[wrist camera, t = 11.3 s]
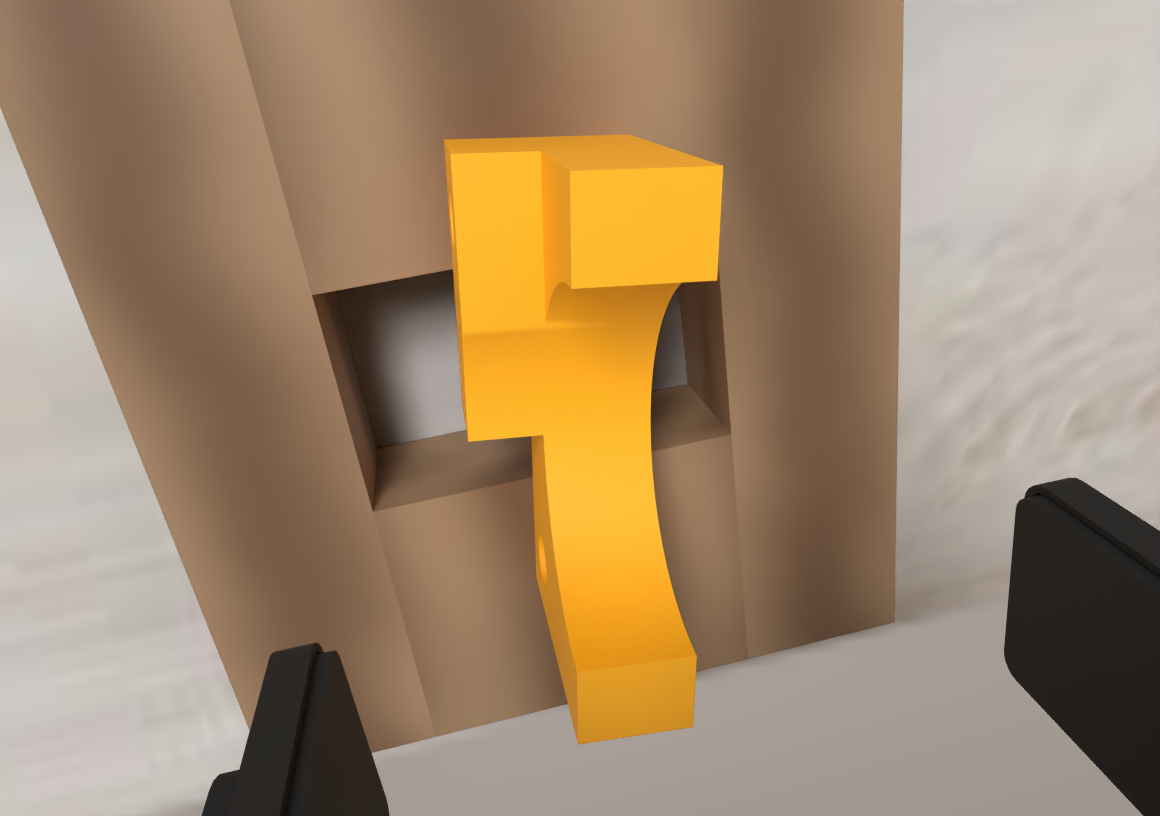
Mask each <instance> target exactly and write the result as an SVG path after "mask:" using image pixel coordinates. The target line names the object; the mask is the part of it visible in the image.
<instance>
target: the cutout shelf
mask: <svg viewBox="0 0 1160 816" xmlns="http://www.w3.org/2000/svg"><path fill="white" fill-rule="evenodd" d="M903 9H904V0H0V108H1V110H2V113H3V115H4V118H5V120H6V123H7V125H8V128H9V130H10V133H11V135H12V138H13V140H14V143H15V145H16V148H17V150H18V153H19V155H20V158H21V160H22V163H23V165H24V168H25V170H26V173H27V175H28V178H29V180H30V183H31V185H32V188H33V190H34V193H35V195H36V198H37V200H38V203H39V205H40V208H41V210H42V213H43V215H44V218H45V220H46V223H47V225H48V228H49V230H50V233H51V235H52V238H53V240H54V243H55V245H56V248H57V250H58V253H59V255H60V258H61V260H62V263H63V265H64V268H65V270H66V273H67V275H68V278H69V280H70V283H71V285H72V288H73V290H74V293H75V295H76V298H77V300H78V303H79V305H80V308H81V310H82V313H83V315H84V318H85V320H86V323H87V325H88V328H89V330H90V333H91V335H92V338H93V340H94V343H95V345H96V348H97V350H98V353H99V355H100V358H101V360H102V363H103V365H104V368H105V370H106V373H107V375H108V378H109V380H110V383H111V385H112V388H113V390H114V393H115V395H116V398H117V400H118V403H119V405H120V408H121V410H122V413H123V415H124V418H125V420H126V423H127V425H128V428H129V430H130V433H131V435H132V438H133V440H134V443H135V445H136V448H137V450H138V453H139V455H140V458H141V460H142V463H143V465H144V468H145V470H146V473H147V475H148V478H149V480H150V483H151V485H152V488H153V490H154V493H155V495H156V498H157V500H158V503H159V505H160V508H161V510H162V513H163V515H164V518H165V520H166V523H167V525H168V528H169V530H170V533H171V535H172V538H173V540H174V543H175V545H176V548H177V550H178V553H179V555H180V558H181V560H182V563H183V565H184V568H185V570H186V573H187V575H188V578H189V580H190V583H191V585H192V588H193V590H194V593H195V595H196V598H197V600H198V603H199V605H200V608H201V610H202V613H203V615H204V618H205V620H206V623H207V625H208V628H209V630H210V633H211V635H212V638H213V640H214V643H215V645H216V648H217V650H218V653H219V655H220V658H221V660H222V663H223V665H224V668H225V670H226V673H227V675H228V678H229V680H230V683H231V685H232V688H233V690H234V693H235V695H236V698H237V700H238V703H239V705H240V708H241V710H242V713H243V715H244V718H245V720H246V723H247V725H248V728H249V730H250V728H251V725H252V721H253V717H254V713H255V709H256V706H257V702H258V698H259V694H260V691H261V687H262V683H263V679H264V676H265V672H266V668H267V664H268V660H269V658H270V655H271V654H272V653H273V652H275V651H279V650H284V649H289V648H293V647H298V646H302V645H307V644H311V643H319V644H320V646H321V647H322V649H323V651H324V652H329V651H333V650H335V651H337V652H338V654H339V656H340V659H341V662H342V665H343V668H344V671H345V674H346V677H347V680H348V683H349V686H350V689H351V692H352V695H353V698H354V701H355V704H356V708H357V711H358V714H359V717H360V720H361V723H362V726H363V729H364V732H365V735H366V738H367V741H368V744H369V747H370V750H371V753H373V752H377V751H381V750H385V749H389V748H393V747H397V746H401V745H405V744H409V743H413V742H417V741H421V740H425V739H429V738H433V737H437V736H441V735H445V734H449V733H453V732H457V731H461V730H465V729H469V728H473V727H477V726H481V725H485V724H489V723H493V722H497V721H501V720H505V719H509V718H513V717H517V716H521V715H525V714H529V713H533V712H537V711H541V710H545V709H549V708H553V707H557V706H561V705H565V704H568V702H567V698H566V694H565V690H564V686H563V682H562V678H561V674H560V670H559V666H558V662H557V658H556V654H555V650H554V646H553V642H552V638H551V634H550V630H549V626H548V622H547V618H546V614H545V610H544V606H543V602H542V598H541V594H540V590H539V586H538V582H537V578H536V553H535V525H534V497H533V469H532V441H531V436H527V437H516V438H505V439H493V440H482V441H470V442H468V436H467V430H465V431H460V432H455V433H450V434H445V435H441V436H436V437H431V438H426V439H421V440H416V441H412V442H407V443H402V444H397V445H392V446H388V447H383V448H377V444H376V440H375V437H374V433H373V429H372V425H371V422H370V418H369V414H368V411H367V407H366V403H365V399H364V396H363V392H362V388H361V385H360V381H359V377H358V373H357V370H356V366H355V362H354V358H353V355H352V351H351V347H350V344H349V340H348V336H347V332H346V329H345V325H344V321H343V317H342V314H341V310H340V306H339V303H338V299H337V295H336V291H337V290H343V289H348V288H354V287H359V286H364V285H370V284H375V283H381V282H386V281H391V280H397V279H402V278H408V277H413V276H418V275H424V274H429V273H435V272H440V271H445V270H451V269H453V263H452V249H451V235H450V220H449V206H448V191H447V177H446V163H445V148H444V140H446V139H483V138H520V137H558V136H595V135H632V136H635V137H638V138H641V139H644V140H647V141H650V142H653V143H656V144H659V145H662V146H665V147H668V148H671V149H674V150H677V151H680V152H683V153H686V154H689V155H692V156H695V157H698V158H701V159H704V160H707V161H710V162H713V163H716V164H719V165H722V166H723V180H722V198H721V217H720V235H719V254H718V273H717V280H716V281H699V282H682V283H681V284H680V285H679V296H680V307H681V317H682V328H683V338H684V349H685V359H686V370H687V380H688V384H686V385H681V386H676V387H672V388H667V389H662V390H657V391H652V392H651V455H652V471H653V482H654V491H655V500H656V508H657V515H658V522H659V528H660V534H661V540H662V545H663V550H664V555H665V560H666V564H667V569H668V573H669V577H670V581H671V585H672V589H673V592H674V596H675V599H676V603H677V606H678V609H679V612H680V615H681V618H682V621H683V624H684V627H685V629H686V632H687V635H688V637H689V640H690V642H691V644H692V647H693V649H694V651H695V653H696V655H697V662H696V672H697V671H701V670H705V669H709V668H713V667H717V666H721V665H725V664H729V663H733V662H737V661H741V660H745V659H749V658H753V657H757V656H761V655H765V654H769V653H773V652H777V651H781V650H785V649H789V648H793V647H797V646H801V645H805V644H809V643H813V642H817V641H821V640H825V639H829V638H833V637H837V636H841V635H845V634H849V633H853V632H857V631H861V630H865V629H869V628H873V627H877V626H881V625H885V624H889V623H893V622H894V610H895V543H896V477H897V410H898V343H899V276H900V210H901V143H902V76H903Z"/></svg>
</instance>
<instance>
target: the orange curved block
mask: <svg viewBox="0 0 1160 816" xmlns="http://www.w3.org/2000/svg"><path fill="white" fill-rule="evenodd" d="M444 148H445V163H446V177H447V191H448V206H449V220H450V235H451V249H452V263H453V278H454V292H455V306H456V321H457V335H458V350H459V364H460V378H461V393H462V405H463V411H464V417H465V423H466V430H467V436H468V442H470V441H482V440H493V439H505V438H516V437H527V436H531V441H532V469H533V497H534V525H535V553H536V578H537V582H538V586H539V590H540V594H541V598H542V602H543V606H544V610H545V614H546V618H547V622H548V626H549V630H550V634H551V638H552V642H553V646H554V650H555V654H556V658H557V662H558V666H559V670H560V674H561V678H562V682H563V686H564V690H565V694H566V698H567V702H568V706H569V710H570V714H571V718H572V722H573V726H574V730H575V734H576V738H577V742H578V744H584V743H591V742H597V741H604V740H611V739H617V738H624V737H630V736H637V735H644V734H649V733H657V732H663V731H670V730H677V729H683V728H690V727H693V718H694V717H693V716H694V699H695V680H696V662H697V655H696V653H695V651H694V649H693V647H692V644H691V642H690V640H689V637H688V635H687V632H686V629H685V627H684V624H683V621H682V618H681V615H680V612H679V609H678V606H677V603H676V599H675V596H674V592H673V589H672V585H671V581H670V577H669V573H668V569H667V564H666V560H665V555H664V550H663V545H662V540H661V534H660V528H659V522H658V515H657V508H656V500H655V491H654V482H653V471H652V455H651V389H652V376H653V366H654V358H655V351H656V346H657V340H658V335H659V331H660V327H661V323H662V320H663V317H664V314H665V311H666V308H667V306H668V304H669V301H670V299H671V297H672V296H673V294H674V292H675V291H676V289H677V288H678V287H679V285H680V284H681V283H682V282H699V281H716V280H717V273H718V254H719V235H720V217H721V198H722V180H723V166H722V165H719V164H716V163H713V162H710V161H707V160H704V159H701V158H698V157H695V156H692V155H689V154H686V153H683V152H680V151H677V150H674V149H671V148H668V147H665V146H662V145H659V144H656V143H653V142H650V141H647V140H644V139H641V138H638V137H635V136H632V135H595V136H558V137H520V138H483V139H446V140H444Z"/></svg>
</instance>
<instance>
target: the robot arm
mask: <svg viewBox="0 0 1160 816" xmlns="http://www.w3.org/2000/svg"><path fill="white" fill-rule="evenodd" d="M1004 655H1005V661H1006V664H1007V666H1008V668H1009V670H1010V672H1011V674H1012V676H1013V677H1014V678H1015V680H1016V681H1017V682H1018V683H1019V684H1020V685H1021V686H1022V687H1023V688H1024V689H1025V690H1026V691H1027V692H1028V693H1029V695H1030V696H1031V697H1032V698H1033V699H1034V700H1035V701H1036V702H1037V703H1038V704H1039V705H1040V706H1041V707H1042V708H1043V709H1044V710H1045V712H1046V713H1047V714H1048V715H1049V716H1050V717H1051V718H1052V719H1053V720H1054V721H1055V722H1056V723H1057V724H1058V725H1059V726H1060V727H1061V729H1062V730H1063V731H1064V732H1065V733H1066V734H1067V735H1068V736H1069V737H1070V738H1071V739H1072V740H1073V741H1074V742H1075V743H1076V744H1077V746H1079V748H1080V749H1081V750H1082V751H1083V752H1084V753H1085V754H1086V755H1087V756H1088V757H1089V758H1090V759H1091V760H1092V761H1093V762H1094V764H1096V766H1097V767H1098V768H1099V769H1100V770H1101V771H1102V772H1103V773H1104V774H1105V775H1106V776H1107V777H1108V778H1109V780H1111V782H1112V783H1113V784H1114V785H1115V786H1116V787H1117V788H1118V789H1119V790H1120V791H1121V792H1122V793H1123V794H1124V796H1125V797H1126V798H1127V799H1128V800H1129V801H1130V802H1131V803H1132V804H1133V805H1134V806H1135V807H1136V808H1137V809H1138V810H1139V811H1140V812H1141V814H1142V815H1143V816H1160V531H1159V530H1157V529H1156V528H1154V527H1153V526H1151V525H1149V524H1148V523H1146V522H1145V521H1143V520H1142V519H1140V518H1139V517H1137V516H1136V515H1134V514H1133V513H1131V512H1129V511H1128V510H1126V509H1125V508H1123V507H1122V506H1120V505H1119V504H1117V503H1116V502H1114V501H1113V500H1111V499H1109V498H1108V497H1106V496H1105V495H1103V494H1102V493H1100V492H1099V491H1097V490H1096V489H1094V488H1093V487H1091V486H1089V485H1088V484H1086V483H1085V482H1083V481H1081V480H1079V479H1077V478H1066V479H1062V480H1057V481H1053V482H1048V483H1043V484H1039V485H1034V486H1032V487H1030V488H1029V489H1028V490H1027V492H1026V494H1025V498H1024V499H1022V500H1020V501H1019V502H1018V504H1017V507H1016V514H1015V526H1014V538H1013V550H1012V562H1011V574H1010V586H1009V598H1008V610H1007V623H1006V634H1005V646H1004ZM202 816H389V810H388V804H387V800H386V796H385V793H384V791H383V787H382V784H381V781H380V778H379V775H378V772H377V769H376V766H375V763H374V760H373V756H372V753H371V750H370V747H369V744H368V741H367V738H366V735H365V732H364V729H363V726H362V723H361V720H360V717H359V714H358V711H357V708H356V704H355V701H354V698H353V695H352V692H351V689H350V686H349V683H348V680H347V677H346V674H345V671H344V668H343V665H342V662H341V659H340V656H339V654H338V652H337V651H335V650H333V651H329V652H324V651H323V649H322V647H321V646H320V644H319V643H311V644H307V645H302V646H298V647H293V648H289V649H284V650H279V651H275V652H273V653H272V654H271V655H270V658H269V660H268V664H267V668H266V672H265V676H264V679H263V683H262V687H261V691H260V694H259V698H258V702H257V706H256V709H255V713H254V717H253V721H252V725H251V728H250V732H249V736H248V740H247V743H246V747H245V751H244V755H243V758H242V762H241V766H240V770H236V771H232V772H227V773H223V774H219V775H218V776H217V778H216V779H215V780H214V781H213V783H212V786H211V788H210V790H209V793H208V796H207V800H206V803H205V806H204V810H203V813H202Z"/></svg>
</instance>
